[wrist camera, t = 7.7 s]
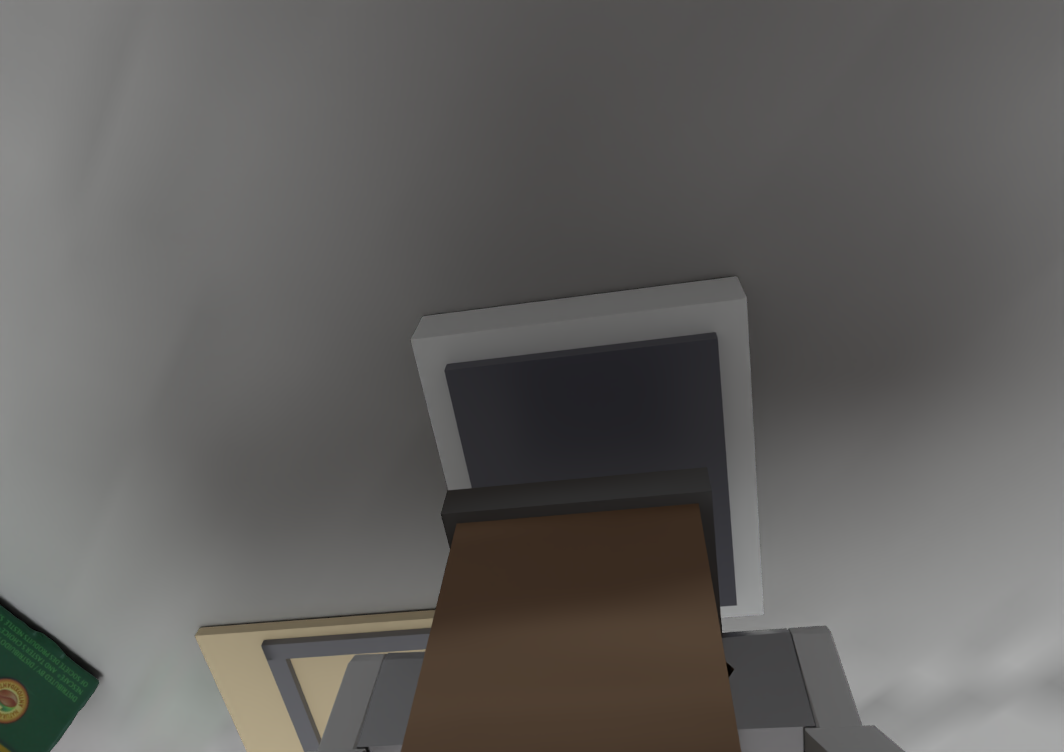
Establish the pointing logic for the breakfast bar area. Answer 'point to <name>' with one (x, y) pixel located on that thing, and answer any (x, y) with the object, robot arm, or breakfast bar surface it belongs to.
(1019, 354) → the breakfast bar surface
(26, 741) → the coffee box
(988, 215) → the breakfast bar surface
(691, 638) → the stamp
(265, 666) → the card
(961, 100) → the breakfast bar surface
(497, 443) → the ink pad
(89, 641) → the breakfast bar surface
